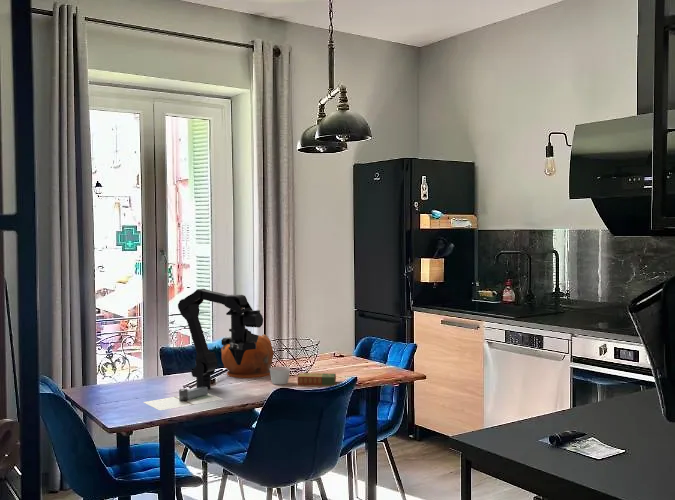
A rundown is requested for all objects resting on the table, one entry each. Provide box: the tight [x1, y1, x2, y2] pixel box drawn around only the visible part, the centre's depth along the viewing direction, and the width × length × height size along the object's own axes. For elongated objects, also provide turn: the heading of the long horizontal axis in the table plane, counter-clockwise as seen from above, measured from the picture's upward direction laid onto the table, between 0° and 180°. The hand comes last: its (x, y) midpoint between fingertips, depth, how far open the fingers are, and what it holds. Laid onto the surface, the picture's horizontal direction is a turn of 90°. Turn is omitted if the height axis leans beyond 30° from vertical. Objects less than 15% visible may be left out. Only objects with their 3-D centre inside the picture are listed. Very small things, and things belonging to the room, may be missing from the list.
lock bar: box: [178, 386, 209, 401], centre depth 264 cm, size 13×3×4 cm, turn 141°
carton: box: [297, 372, 337, 387], centre depth 293 cm, size 8×16×4 cm, turn 87°
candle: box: [269, 366, 291, 385], centre depth 295 cm, size 9×9×6 cm
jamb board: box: [142, 392, 224, 411], centre depth 261 cm, size 16×26×1 cm, turn 128°
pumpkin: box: [220, 334, 275, 379], centre depth 316 cm, size 22×25×23 cm
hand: (238, 364), depth 274 cm, fingers closed
